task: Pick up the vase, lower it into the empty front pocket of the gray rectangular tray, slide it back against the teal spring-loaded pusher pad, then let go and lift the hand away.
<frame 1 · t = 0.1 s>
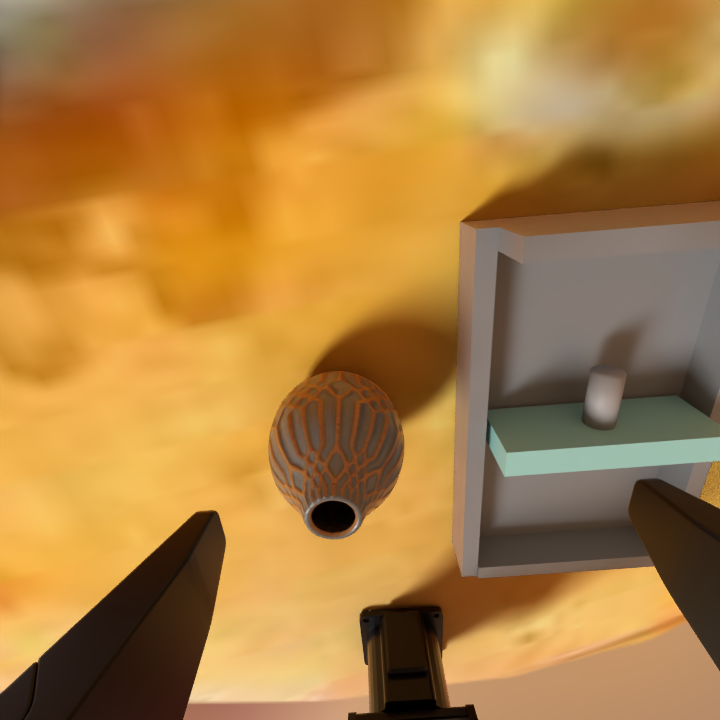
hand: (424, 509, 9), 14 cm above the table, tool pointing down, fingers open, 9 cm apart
vase: (339, 404, 25), on the table
gray rectangular tray: (571, 402, 25), on the table
pusher: (600, 409, 22), point 3 cm above the table, slide at 0.0 cm
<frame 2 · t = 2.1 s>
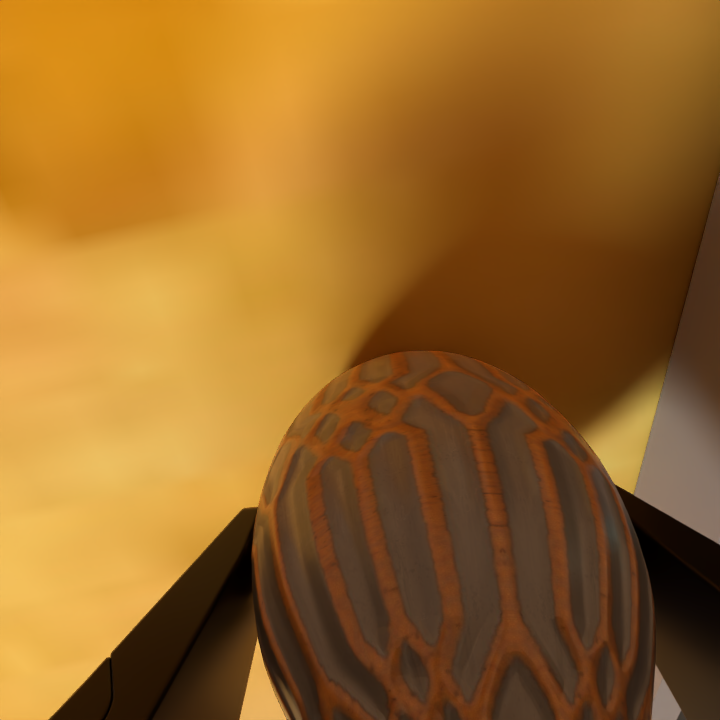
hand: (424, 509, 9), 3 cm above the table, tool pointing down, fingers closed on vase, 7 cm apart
vase: (406, 425, 12), on the table, touching gripper
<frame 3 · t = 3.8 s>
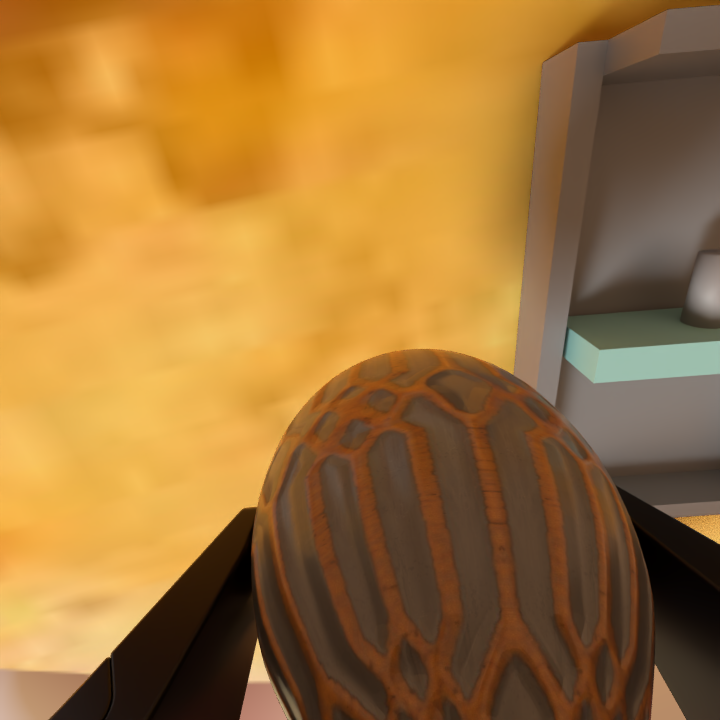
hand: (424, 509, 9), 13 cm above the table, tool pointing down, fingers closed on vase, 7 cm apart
vase: (406, 424, 12), point 10 cm above the table, touching gripper
gray rectangular tray: (656, 313, 21), on the table
pusher: (707, 305, 18), point 3 cm above the table, slide at 0.0 cm
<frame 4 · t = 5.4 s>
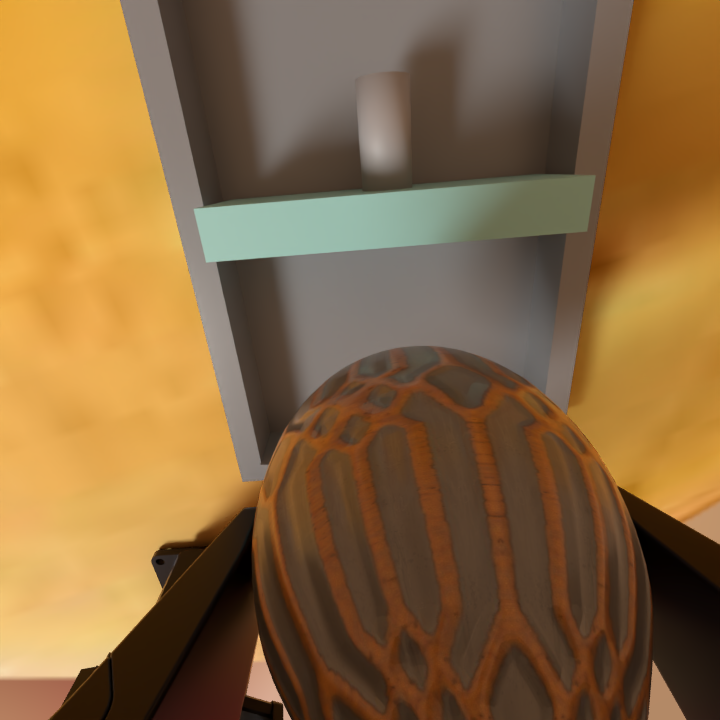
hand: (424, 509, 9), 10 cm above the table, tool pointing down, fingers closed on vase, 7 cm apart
vase: (405, 421, 12), point 7 cm above the table, touching gripper
gray rectangular tray: (382, 199, 16), on the table
pusher: (386, 163, 13), point 3 cm above the table, slide at 0.0 cm
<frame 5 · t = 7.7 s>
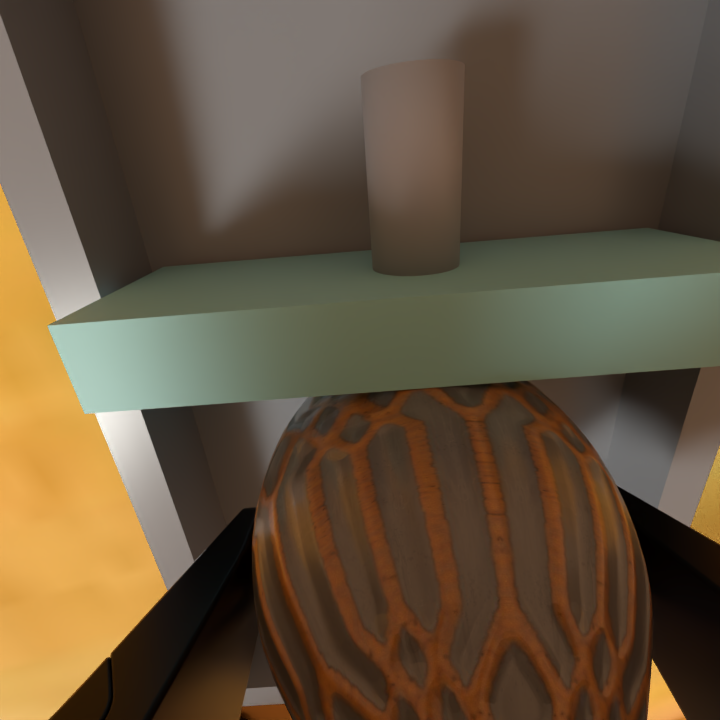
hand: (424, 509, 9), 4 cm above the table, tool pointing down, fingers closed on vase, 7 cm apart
vase: (405, 420, 12), point 1 cm above the table, touching gripper, pusher
gray rectangular tray: (403, 349, 11), on the table
pusher: (414, 223, 7), point 3 cm above the table, slide at 2.4 cm, touching vase
when the fingers open (4 cm above the table, at t = 8.8 s): vase stays where it is, resting on gray rectangular tray.
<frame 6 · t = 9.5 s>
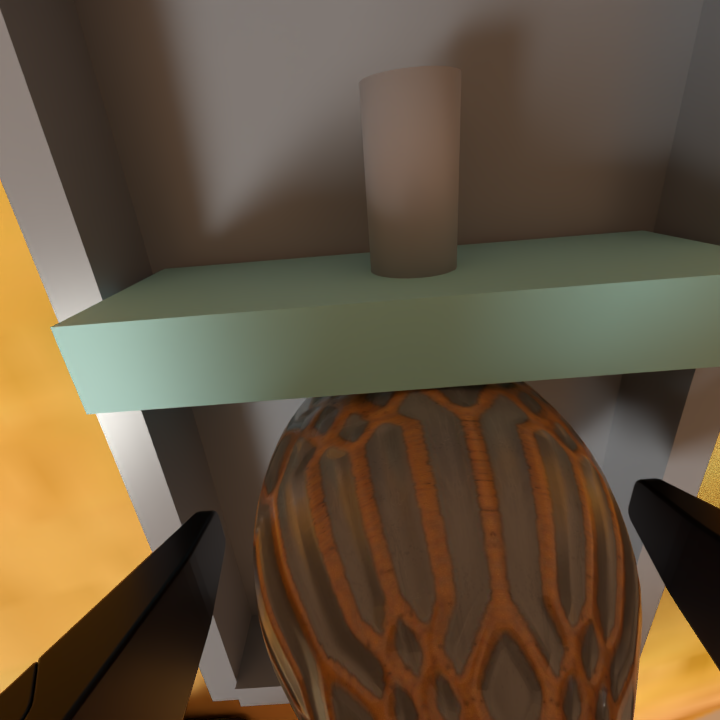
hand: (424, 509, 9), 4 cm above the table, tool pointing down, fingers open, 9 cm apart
vase: (404, 420, 12), resting on gray rectangular tray
gray rectangular tray: (401, 351, 11), on the table
pusher: (412, 226, 7), point 3 cm above the table, slide at 2.4 cm
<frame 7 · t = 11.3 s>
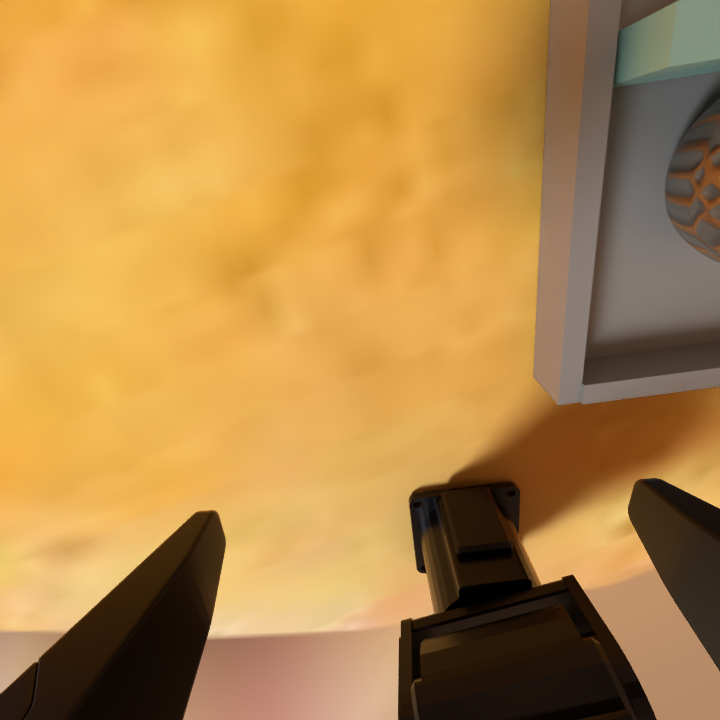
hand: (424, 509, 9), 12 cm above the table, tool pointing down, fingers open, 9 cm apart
vase: (714, 169, 17), resting on gray rectangular tray
gray rectangular tray: (719, 114, 16), on the table
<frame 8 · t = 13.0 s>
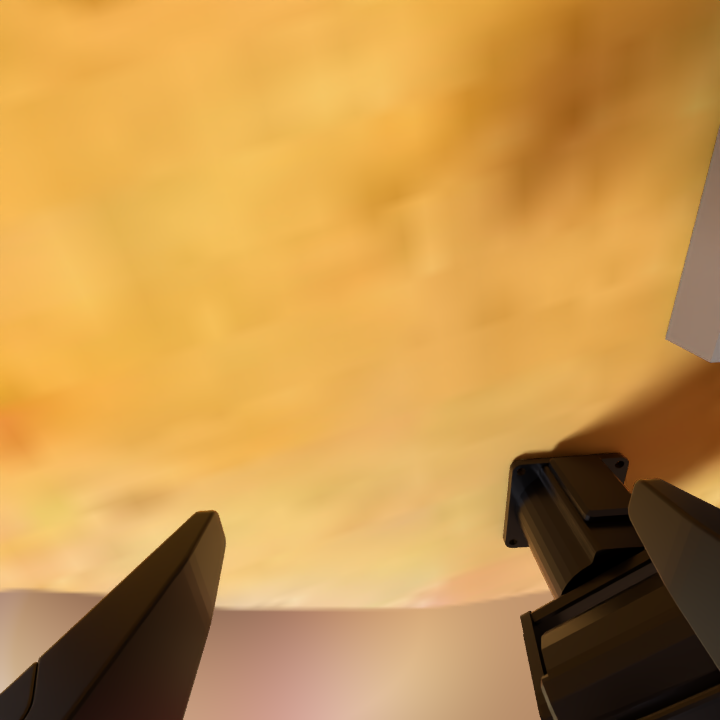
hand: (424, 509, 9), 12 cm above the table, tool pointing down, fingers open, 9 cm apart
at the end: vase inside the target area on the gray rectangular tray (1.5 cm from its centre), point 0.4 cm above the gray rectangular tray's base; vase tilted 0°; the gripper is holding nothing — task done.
